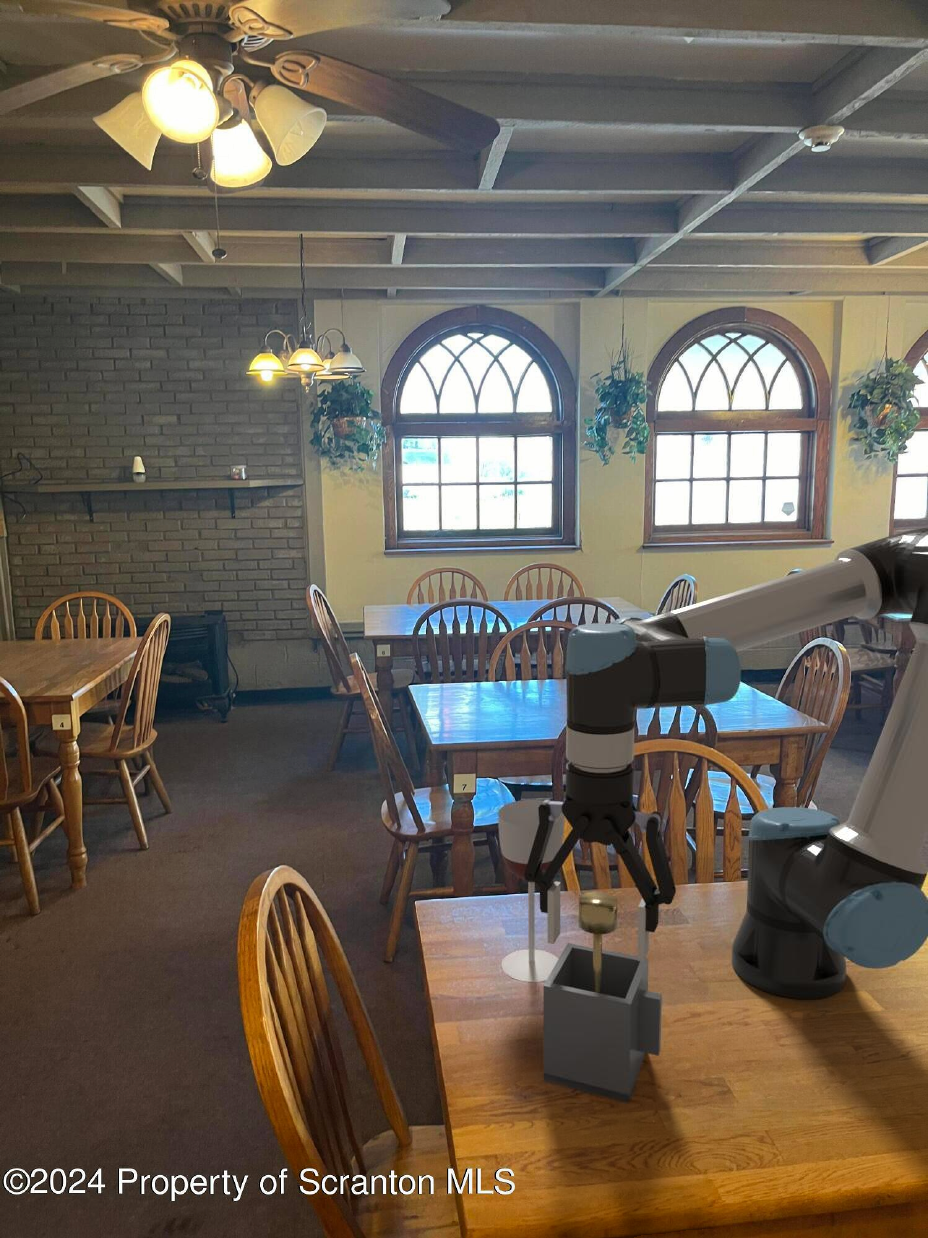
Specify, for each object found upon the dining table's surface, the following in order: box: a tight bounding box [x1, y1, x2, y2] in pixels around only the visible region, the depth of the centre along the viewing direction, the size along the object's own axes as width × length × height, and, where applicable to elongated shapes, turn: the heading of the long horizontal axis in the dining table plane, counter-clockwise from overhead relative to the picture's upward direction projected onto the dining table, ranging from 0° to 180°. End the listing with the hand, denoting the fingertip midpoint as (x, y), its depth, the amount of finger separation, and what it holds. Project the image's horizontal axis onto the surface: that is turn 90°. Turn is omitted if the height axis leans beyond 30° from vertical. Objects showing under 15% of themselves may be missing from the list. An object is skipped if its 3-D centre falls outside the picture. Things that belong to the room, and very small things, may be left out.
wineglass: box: [497, 799, 566, 983], centre depth 125 cm, size 9×10×23 cm
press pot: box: [542, 942, 663, 1104], centre depth 104 cm, size 12×10×12 cm
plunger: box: [578, 891, 618, 994], centre depth 104 cm, size 7×7×19 cm
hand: (597, 946), depth 103 cm, fingers open, 10 cm apart
